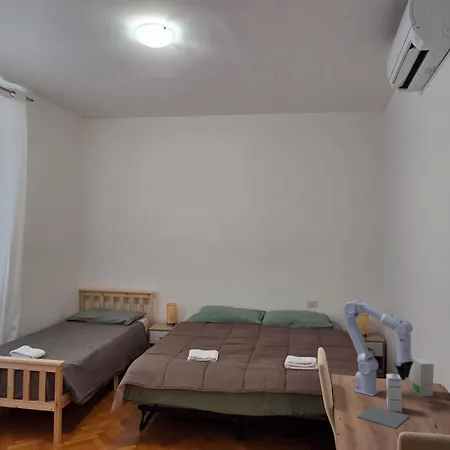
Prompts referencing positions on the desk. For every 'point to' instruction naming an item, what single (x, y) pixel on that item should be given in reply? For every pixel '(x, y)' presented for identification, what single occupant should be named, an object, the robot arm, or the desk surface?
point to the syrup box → (394, 392)
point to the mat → (383, 417)
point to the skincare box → (422, 377)
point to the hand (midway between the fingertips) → (404, 378)
